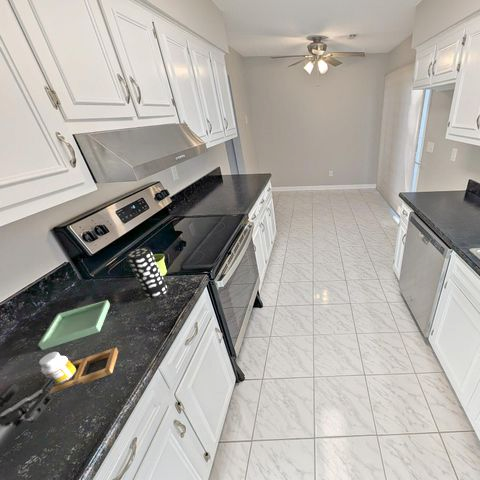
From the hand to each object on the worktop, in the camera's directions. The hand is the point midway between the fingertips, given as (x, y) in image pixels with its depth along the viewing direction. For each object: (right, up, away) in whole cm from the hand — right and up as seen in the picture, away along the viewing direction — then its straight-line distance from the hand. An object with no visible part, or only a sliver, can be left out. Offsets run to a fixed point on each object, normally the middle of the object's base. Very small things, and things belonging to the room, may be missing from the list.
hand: (34, 382), depth 66 cm
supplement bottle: (0, -4, +9) cm, 10 cm away
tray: (-15, +5, +29) cm, 33 cm away
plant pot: (-2, +20, +55) cm, 59 cm away
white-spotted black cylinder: (+4, +14, +43) cm, 46 cm away
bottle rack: (+3, -3, +10) cm, 11 cm away
